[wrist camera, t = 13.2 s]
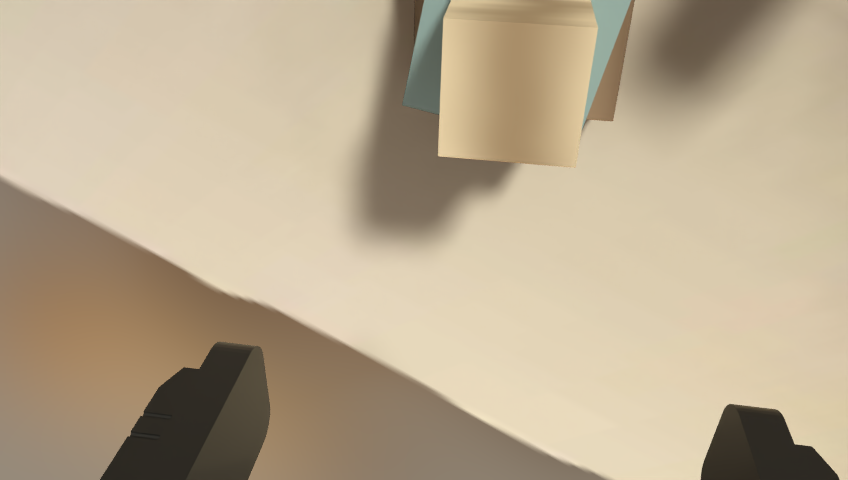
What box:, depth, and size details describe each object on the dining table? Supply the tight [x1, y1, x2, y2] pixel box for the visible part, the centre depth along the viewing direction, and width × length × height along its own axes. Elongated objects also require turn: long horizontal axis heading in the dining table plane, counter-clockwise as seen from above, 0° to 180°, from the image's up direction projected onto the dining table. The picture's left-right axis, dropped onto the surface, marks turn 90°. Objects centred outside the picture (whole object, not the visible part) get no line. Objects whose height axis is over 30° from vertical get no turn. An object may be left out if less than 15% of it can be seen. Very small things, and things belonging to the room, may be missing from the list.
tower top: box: [402, 0, 631, 129], centre depth 30 cm, size 8×8×4 cm
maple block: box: [438, 0, 598, 168], centre depth 26 cm, size 5×5×6 cm
